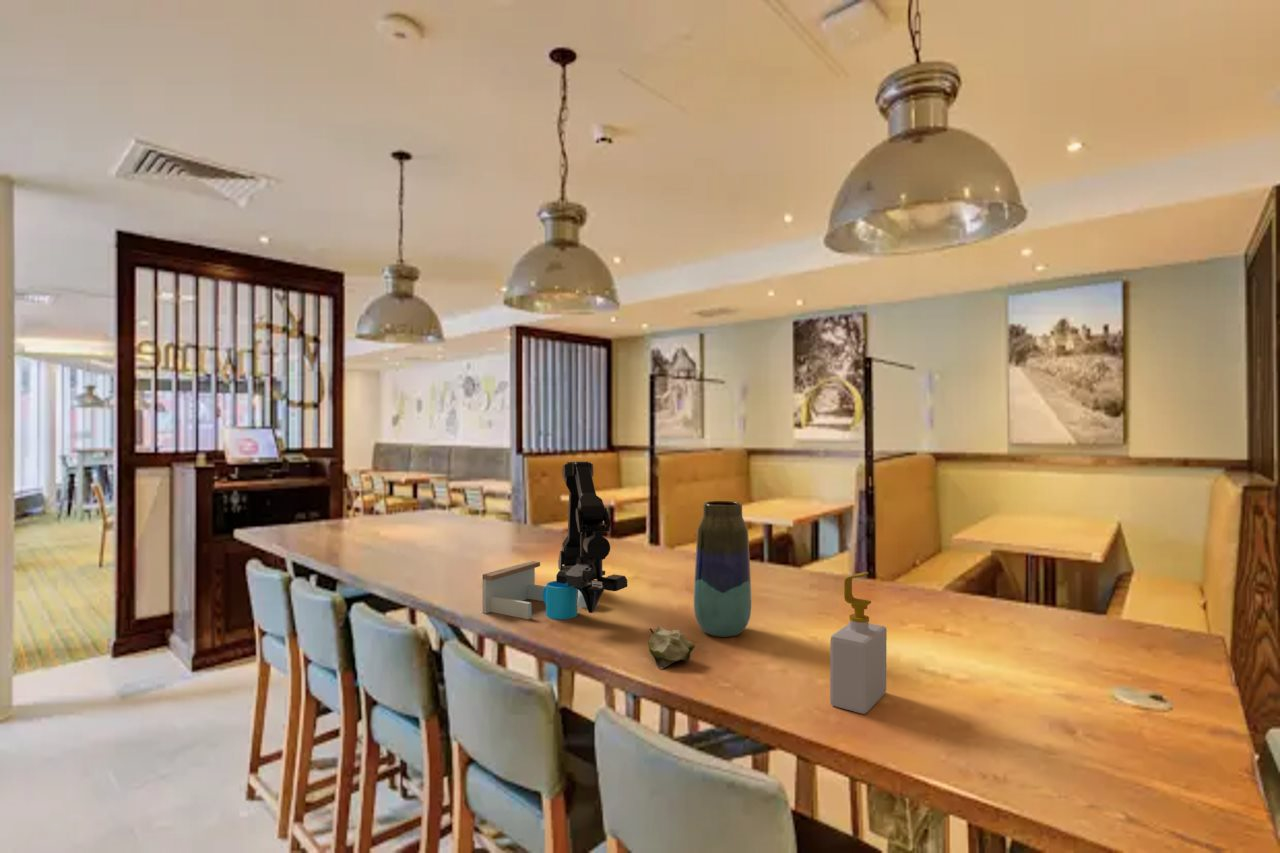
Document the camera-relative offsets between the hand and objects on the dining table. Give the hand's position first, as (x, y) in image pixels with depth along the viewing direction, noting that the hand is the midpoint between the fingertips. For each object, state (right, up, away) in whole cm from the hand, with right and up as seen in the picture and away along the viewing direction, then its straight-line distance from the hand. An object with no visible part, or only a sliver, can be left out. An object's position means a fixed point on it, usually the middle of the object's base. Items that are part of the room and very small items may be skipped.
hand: (591, 612), depth 169 cm
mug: (-9, -2, +6) cm, 11 cm away
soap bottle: (+53, -2, -49) cm, 72 cm away
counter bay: (-18, -2, +10) cm, 21 cm away
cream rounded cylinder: (-2, -2, +13) cm, 13 cm away
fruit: (+19, -2, -29) cm, 35 cm away
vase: (+33, -2, -10) cm, 34 cm away
